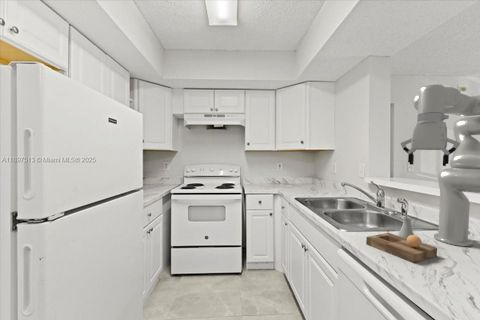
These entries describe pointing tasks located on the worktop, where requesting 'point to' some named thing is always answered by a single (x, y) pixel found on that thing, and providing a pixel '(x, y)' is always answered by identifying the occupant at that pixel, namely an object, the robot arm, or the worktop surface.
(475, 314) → the worktop surface
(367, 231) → the worktop surface
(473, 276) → the worktop surface
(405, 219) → the flask
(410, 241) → the ball
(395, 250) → the board
